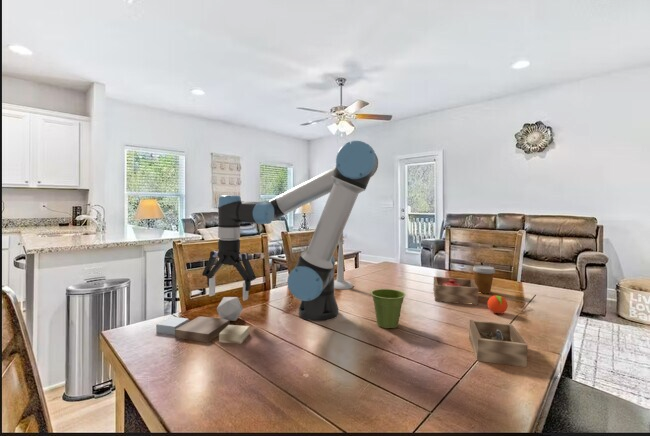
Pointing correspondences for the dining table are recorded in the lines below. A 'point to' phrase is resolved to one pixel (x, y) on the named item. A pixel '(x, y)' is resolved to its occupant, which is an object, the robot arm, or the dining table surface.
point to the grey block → (170, 325)
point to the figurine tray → (498, 344)
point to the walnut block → (202, 329)
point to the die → (229, 308)
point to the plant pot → (387, 306)
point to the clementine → (497, 304)
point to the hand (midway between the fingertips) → (228, 297)
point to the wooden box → (455, 290)
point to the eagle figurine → (498, 337)
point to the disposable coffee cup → (483, 277)
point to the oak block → (234, 334)
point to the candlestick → (341, 270)
